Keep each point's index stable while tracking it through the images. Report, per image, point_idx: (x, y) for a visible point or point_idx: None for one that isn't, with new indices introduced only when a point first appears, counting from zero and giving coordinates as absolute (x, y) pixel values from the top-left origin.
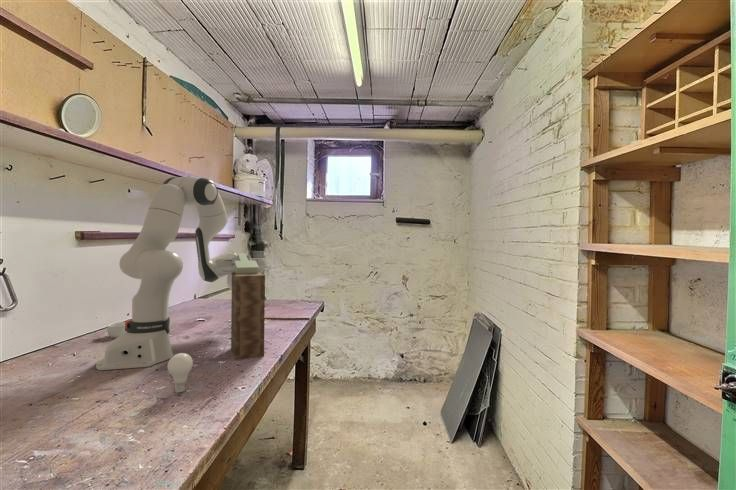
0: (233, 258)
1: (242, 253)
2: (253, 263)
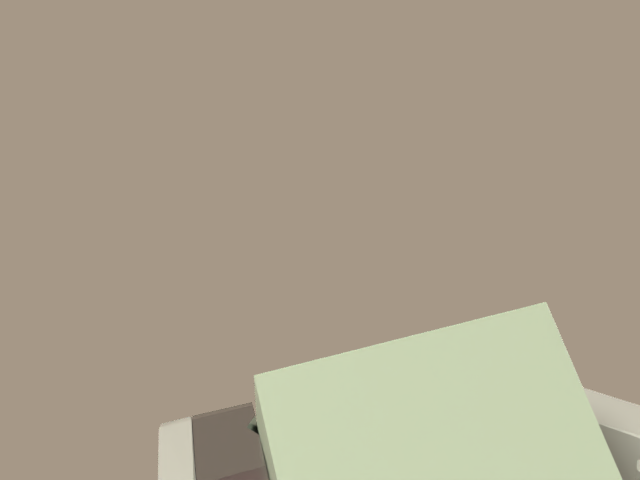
0: (623, 419)
1: (364, 349)
2: None
